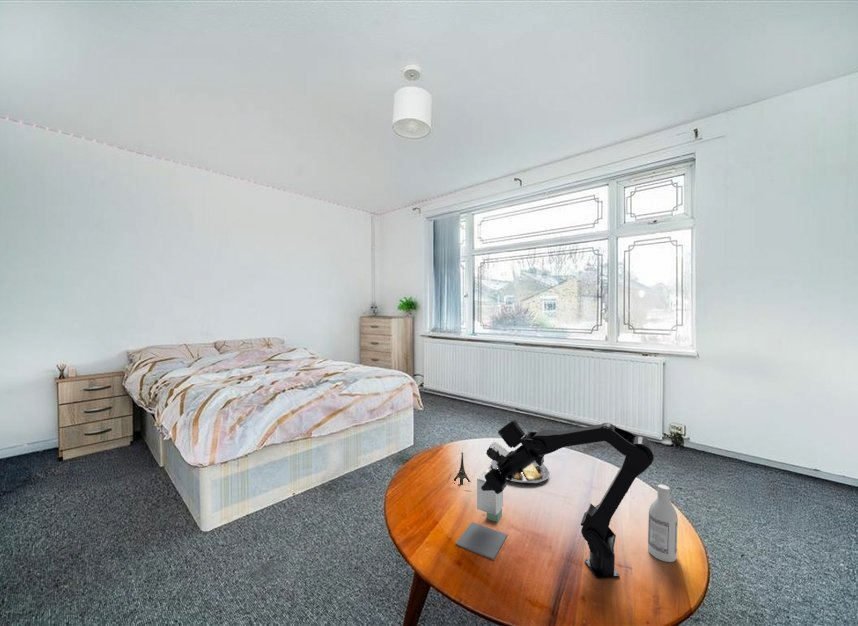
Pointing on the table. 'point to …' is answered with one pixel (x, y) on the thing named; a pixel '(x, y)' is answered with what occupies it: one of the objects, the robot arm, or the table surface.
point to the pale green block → (495, 516)
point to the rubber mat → (482, 540)
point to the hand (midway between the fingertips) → (486, 484)
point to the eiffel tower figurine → (461, 473)
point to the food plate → (529, 473)
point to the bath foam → (662, 527)
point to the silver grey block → (488, 497)
